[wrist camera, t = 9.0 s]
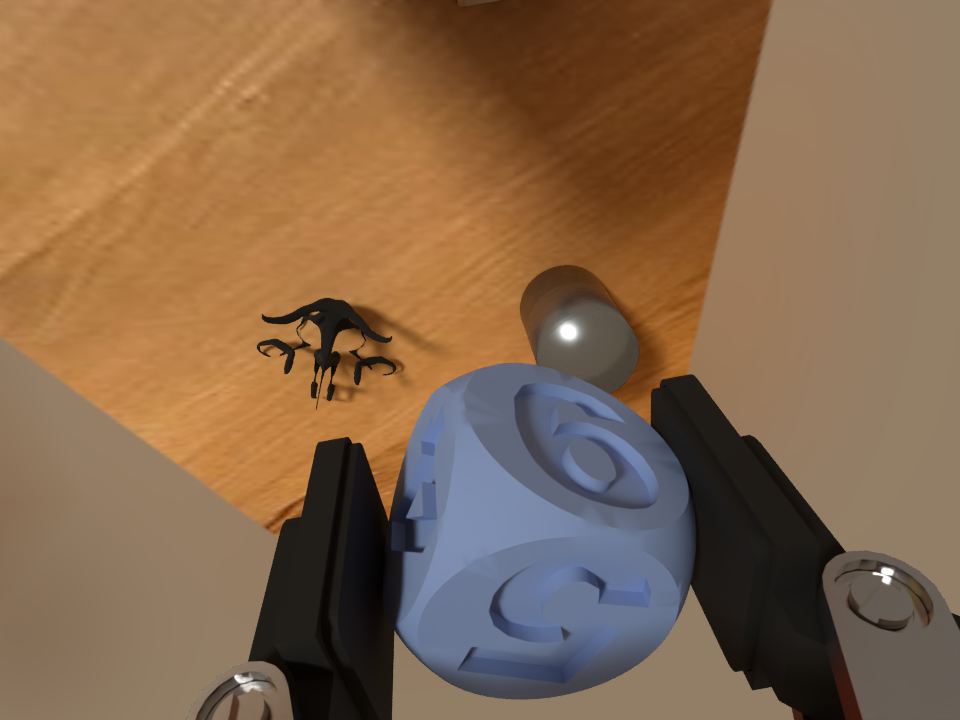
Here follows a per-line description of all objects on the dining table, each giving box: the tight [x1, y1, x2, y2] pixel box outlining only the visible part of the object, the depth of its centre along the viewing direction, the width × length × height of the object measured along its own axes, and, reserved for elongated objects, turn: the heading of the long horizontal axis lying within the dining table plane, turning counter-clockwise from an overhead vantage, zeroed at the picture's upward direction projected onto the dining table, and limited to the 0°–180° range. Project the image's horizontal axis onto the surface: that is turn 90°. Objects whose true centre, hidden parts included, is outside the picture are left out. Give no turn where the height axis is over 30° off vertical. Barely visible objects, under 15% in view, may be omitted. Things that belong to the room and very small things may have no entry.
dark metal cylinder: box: [520, 265, 639, 394], centre depth 31 cm, size 5×5×6 cm
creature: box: [257, 298, 396, 409], centre depth 31 cm, size 8×5×8 cm
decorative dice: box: [383, 363, 696, 699], centre depth 10 cm, size 4×4×4 cm
